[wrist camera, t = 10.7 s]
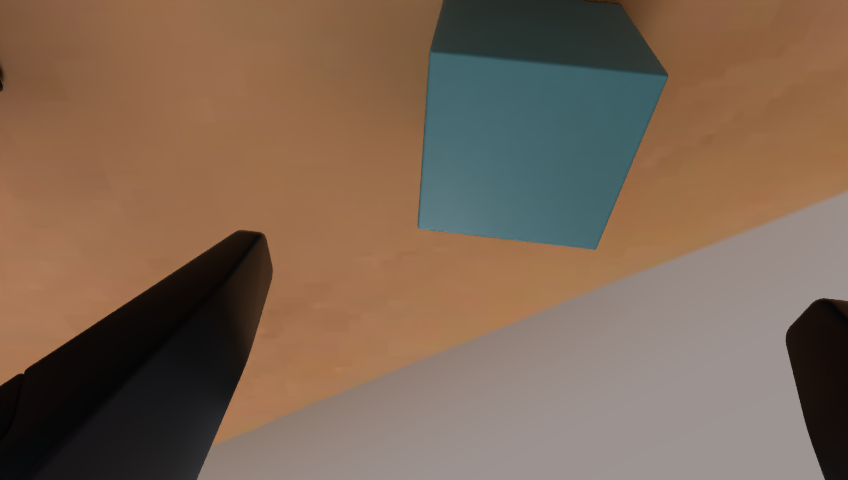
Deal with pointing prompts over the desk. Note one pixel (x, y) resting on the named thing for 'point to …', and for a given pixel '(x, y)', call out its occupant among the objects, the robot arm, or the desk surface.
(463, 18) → the block
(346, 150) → the desk surface
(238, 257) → the robot arm
